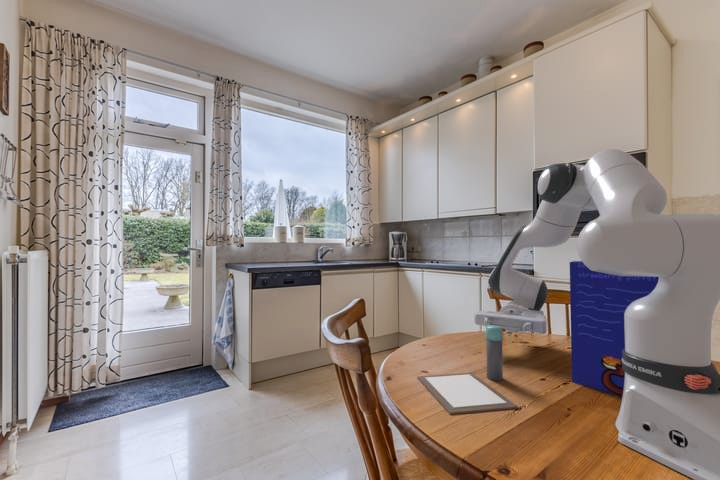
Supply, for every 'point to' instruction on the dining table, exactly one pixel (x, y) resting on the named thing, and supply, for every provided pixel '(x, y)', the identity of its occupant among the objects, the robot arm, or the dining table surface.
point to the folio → (465, 393)
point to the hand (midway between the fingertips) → (504, 326)
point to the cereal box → (601, 324)
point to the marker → (494, 352)
